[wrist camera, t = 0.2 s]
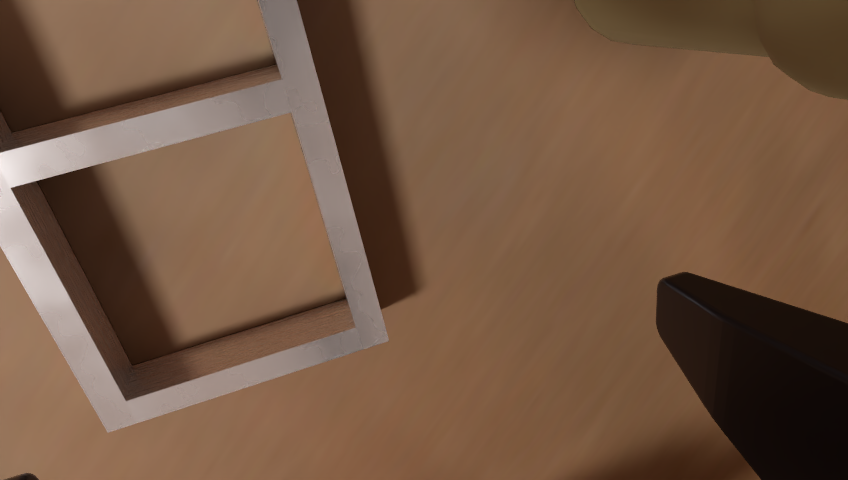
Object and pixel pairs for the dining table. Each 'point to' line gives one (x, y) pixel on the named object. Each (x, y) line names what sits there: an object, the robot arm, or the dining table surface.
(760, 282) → the dining table surface
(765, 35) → the cork
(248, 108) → the grey divided tray
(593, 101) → the dining table surface
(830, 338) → the robot arm
